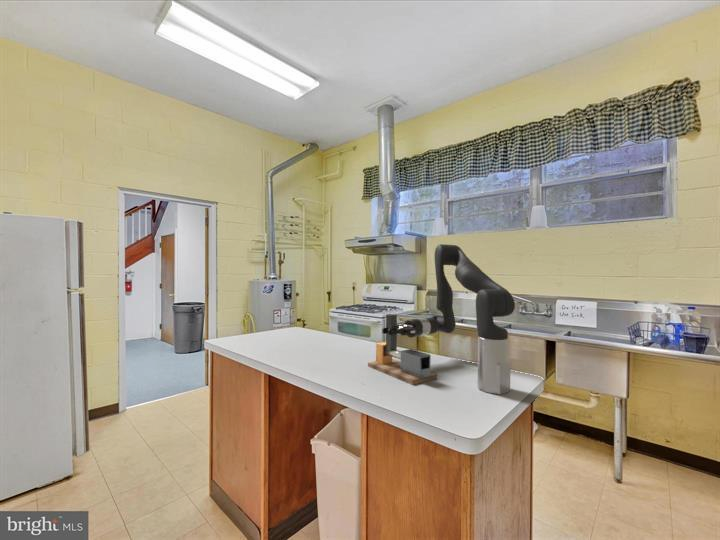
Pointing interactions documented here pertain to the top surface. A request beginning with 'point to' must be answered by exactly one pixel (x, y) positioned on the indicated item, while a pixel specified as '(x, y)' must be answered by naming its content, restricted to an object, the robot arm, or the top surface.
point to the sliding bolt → (391, 337)
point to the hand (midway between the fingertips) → (385, 331)
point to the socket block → (380, 356)
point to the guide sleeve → (415, 363)
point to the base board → (399, 372)
